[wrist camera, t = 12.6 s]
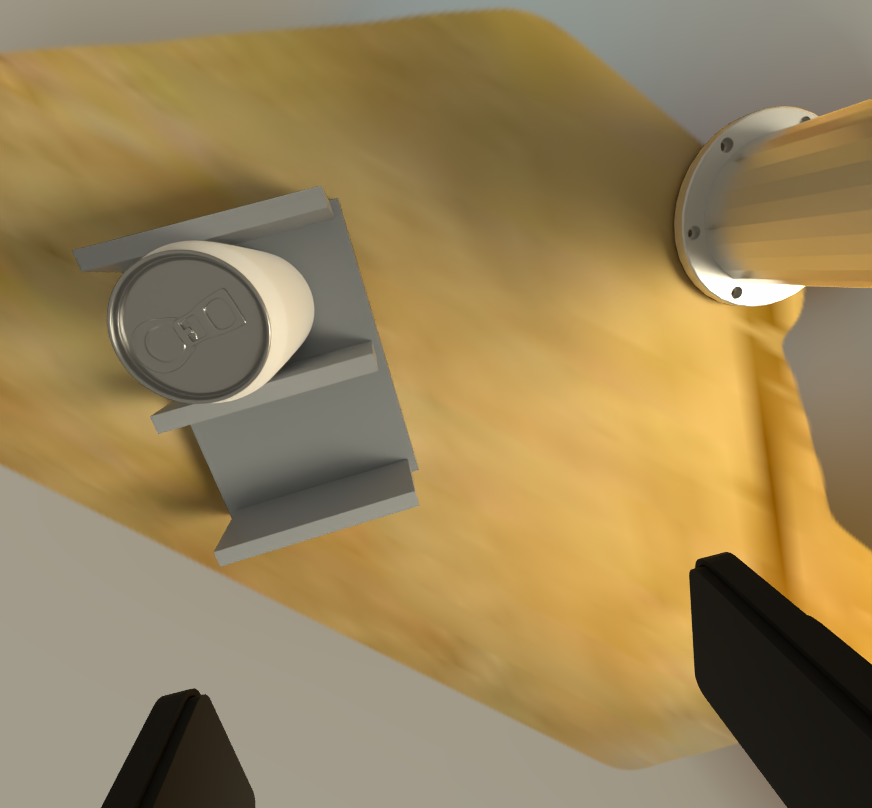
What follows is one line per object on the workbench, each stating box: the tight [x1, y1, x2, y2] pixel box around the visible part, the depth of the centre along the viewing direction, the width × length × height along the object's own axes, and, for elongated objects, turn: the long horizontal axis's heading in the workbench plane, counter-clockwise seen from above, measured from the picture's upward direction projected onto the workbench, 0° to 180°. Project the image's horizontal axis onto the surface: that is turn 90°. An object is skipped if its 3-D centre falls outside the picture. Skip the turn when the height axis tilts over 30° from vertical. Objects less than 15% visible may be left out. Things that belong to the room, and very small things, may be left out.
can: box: [107, 240, 314, 404], centre depth 23 cm, size 6×6×12 cm
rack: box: [72, 186, 419, 567], centre depth 28 cm, size 13×18×6 cm
